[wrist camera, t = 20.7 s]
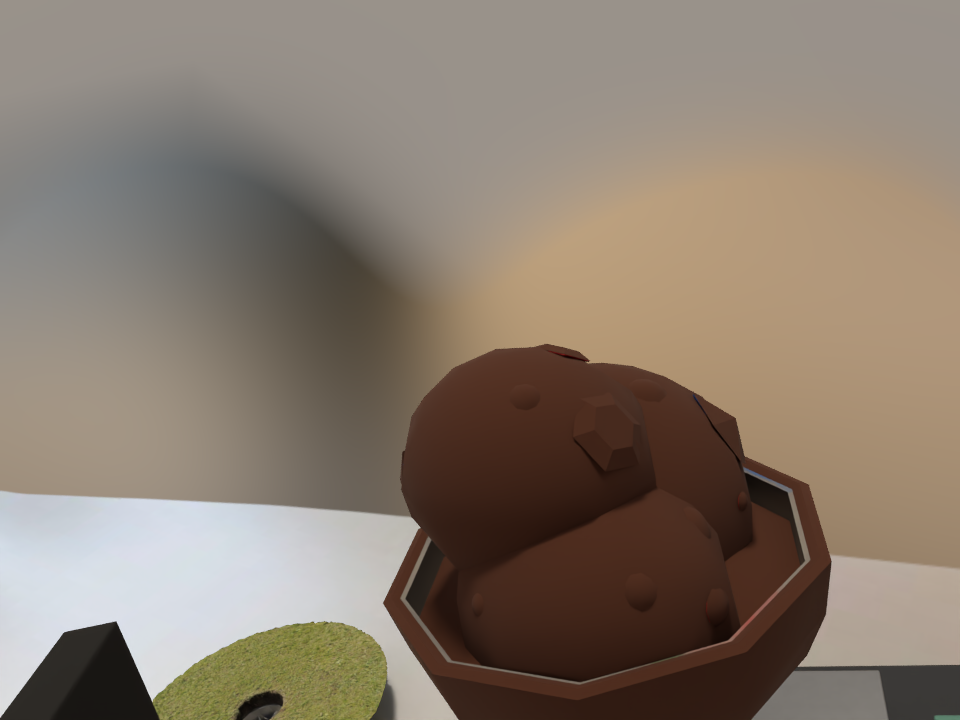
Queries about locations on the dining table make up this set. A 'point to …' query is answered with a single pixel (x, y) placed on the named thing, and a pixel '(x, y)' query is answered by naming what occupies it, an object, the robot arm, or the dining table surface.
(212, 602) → the dining table surface
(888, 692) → the scale
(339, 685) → the mat
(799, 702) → the scale pan
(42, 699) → the robot arm
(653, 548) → the ice cream bowl
